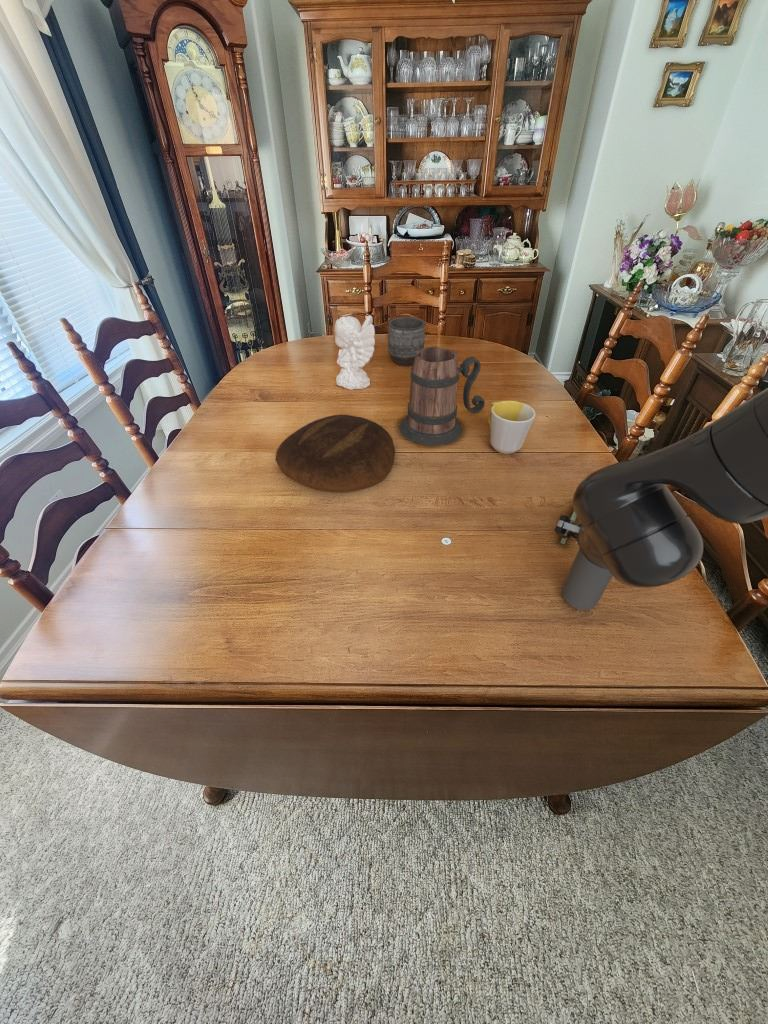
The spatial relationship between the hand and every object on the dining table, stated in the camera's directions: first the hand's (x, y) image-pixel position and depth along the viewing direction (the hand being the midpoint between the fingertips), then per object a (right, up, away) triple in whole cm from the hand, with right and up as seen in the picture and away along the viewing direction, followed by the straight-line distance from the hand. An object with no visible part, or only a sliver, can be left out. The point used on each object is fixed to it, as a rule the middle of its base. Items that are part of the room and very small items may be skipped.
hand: (602, 545), depth 66 cm
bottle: (-1, -9, +6) cm, 11 cm away
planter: (-26, +57, +82) cm, 103 cm away
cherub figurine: (-43, +47, +71) cm, 95 cm away
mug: (-3, +22, +43) cm, 48 cm away
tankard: (-18, +28, +50) cm, 60 cm away
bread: (-45, +17, +38) cm, 61 cm away
